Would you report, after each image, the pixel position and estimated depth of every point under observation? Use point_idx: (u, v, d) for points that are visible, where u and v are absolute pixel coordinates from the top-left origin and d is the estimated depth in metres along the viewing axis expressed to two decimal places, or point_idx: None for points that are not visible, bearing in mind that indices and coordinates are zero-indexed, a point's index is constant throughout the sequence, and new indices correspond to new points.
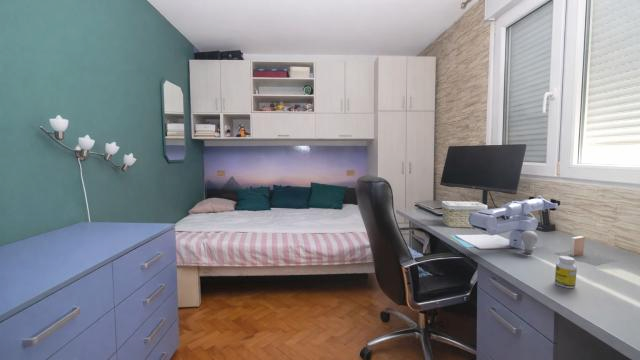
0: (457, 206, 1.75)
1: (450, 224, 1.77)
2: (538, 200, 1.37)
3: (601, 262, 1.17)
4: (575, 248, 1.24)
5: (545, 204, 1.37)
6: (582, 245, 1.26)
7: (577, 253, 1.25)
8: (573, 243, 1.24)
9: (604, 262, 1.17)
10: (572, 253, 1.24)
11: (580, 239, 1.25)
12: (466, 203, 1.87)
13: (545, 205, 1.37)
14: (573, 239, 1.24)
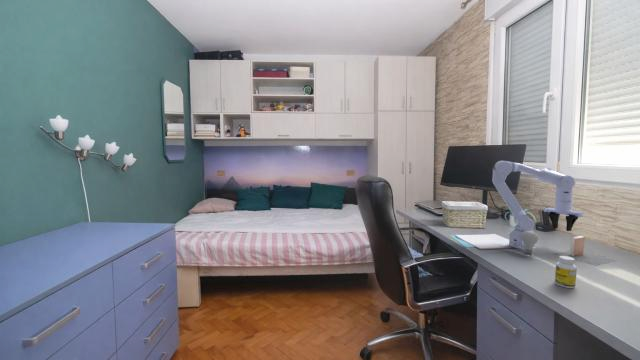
0: (457, 206, 1.74)
1: (450, 224, 1.76)
2: None
3: (601, 262, 1.17)
4: (575, 248, 1.24)
5: (570, 211, 1.28)
6: (582, 245, 1.26)
7: (577, 253, 1.25)
8: (573, 243, 1.24)
9: (604, 262, 1.17)
10: (572, 253, 1.24)
11: (580, 239, 1.25)
12: (466, 203, 1.87)
13: (570, 211, 1.28)
14: (573, 239, 1.24)
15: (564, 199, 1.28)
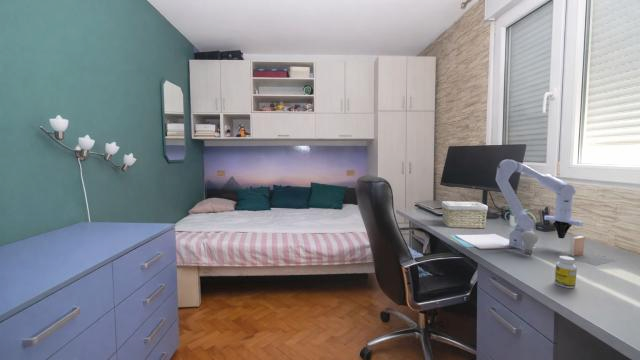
0: (457, 206, 1.74)
1: (450, 224, 1.76)
2: None
3: (601, 262, 1.17)
4: (575, 248, 1.24)
5: (570, 220, 1.28)
6: (582, 245, 1.26)
7: (577, 253, 1.25)
8: (573, 243, 1.24)
9: (604, 262, 1.17)
10: (572, 253, 1.24)
11: (580, 239, 1.25)
12: (466, 203, 1.86)
13: (570, 220, 1.28)
14: (573, 239, 1.24)
15: (564, 208, 1.28)
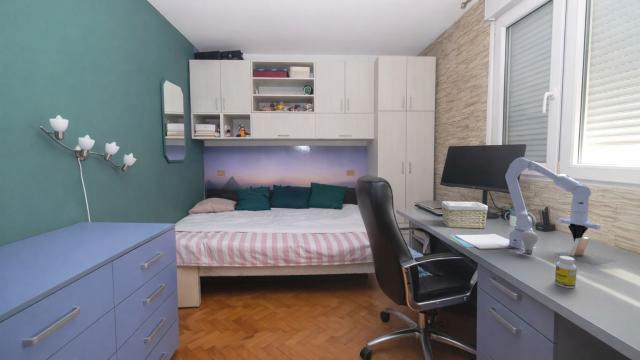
0: (457, 206, 1.74)
1: (450, 224, 1.76)
2: None
3: (601, 262, 1.17)
4: (577, 249, 1.23)
5: (587, 223, 1.23)
6: (585, 246, 1.25)
7: (577, 254, 1.25)
8: (577, 245, 1.23)
9: (604, 262, 1.17)
10: (573, 253, 1.24)
11: (584, 240, 1.23)
12: (466, 203, 1.86)
13: (586, 223, 1.22)
14: (577, 240, 1.22)
15: (578, 210, 1.23)
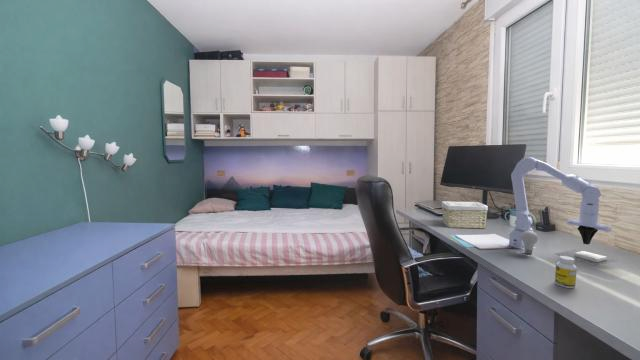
0: (457, 206, 1.73)
1: (450, 224, 1.76)
2: None
3: (601, 262, 1.17)
4: (584, 258, 1.21)
5: (597, 224, 1.19)
6: None
7: None
8: (589, 259, 1.19)
9: (604, 262, 1.17)
10: (576, 255, 1.23)
11: None
12: (466, 203, 1.86)
13: (596, 225, 1.19)
14: (595, 260, 1.17)
15: (587, 211, 1.20)
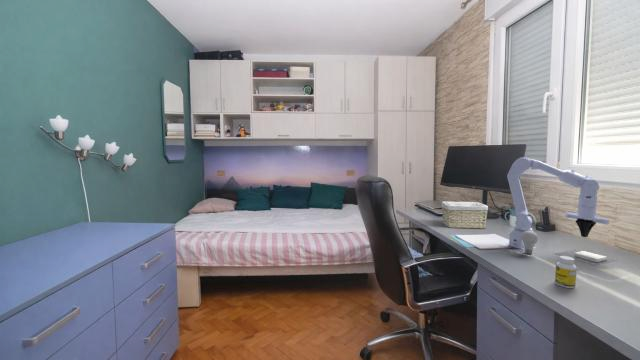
0: (457, 207, 1.73)
1: (450, 225, 1.75)
2: None
3: (601, 262, 1.17)
4: (584, 258, 1.21)
5: (595, 217, 1.20)
6: None
7: None
8: (589, 259, 1.19)
9: (604, 262, 1.17)
10: (576, 255, 1.23)
11: None
12: (466, 203, 1.86)
13: (594, 217, 1.20)
14: (595, 260, 1.17)
15: (586, 204, 1.21)
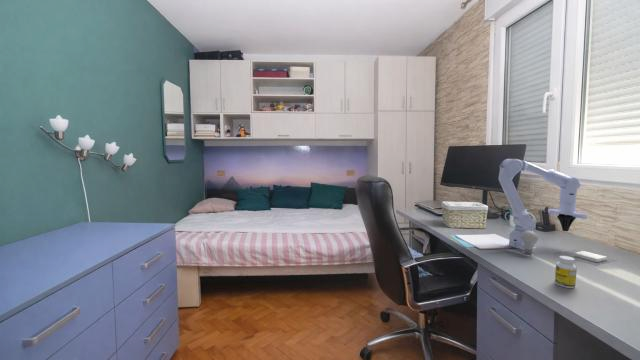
0: (457, 207, 1.73)
1: (450, 225, 1.75)
2: None
3: (601, 262, 1.17)
4: (584, 258, 1.21)
5: (574, 212, 1.30)
6: None
7: None
8: (589, 259, 1.19)
9: (604, 262, 1.17)
10: (576, 255, 1.23)
11: None
12: (466, 203, 1.85)
13: (574, 213, 1.29)
14: (595, 260, 1.17)
15: (569, 201, 1.29)
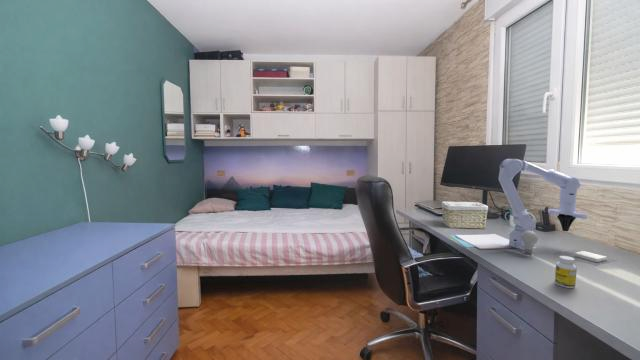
0: (457, 207, 1.73)
1: (450, 225, 1.75)
2: None
3: (601, 262, 1.17)
4: (584, 258, 1.21)
5: (574, 212, 1.30)
6: None
7: None
8: (589, 259, 1.19)
9: (604, 262, 1.17)
10: (576, 255, 1.23)
11: None
12: (466, 203, 1.85)
13: (574, 213, 1.29)
14: (595, 260, 1.17)
15: (569, 201, 1.29)
